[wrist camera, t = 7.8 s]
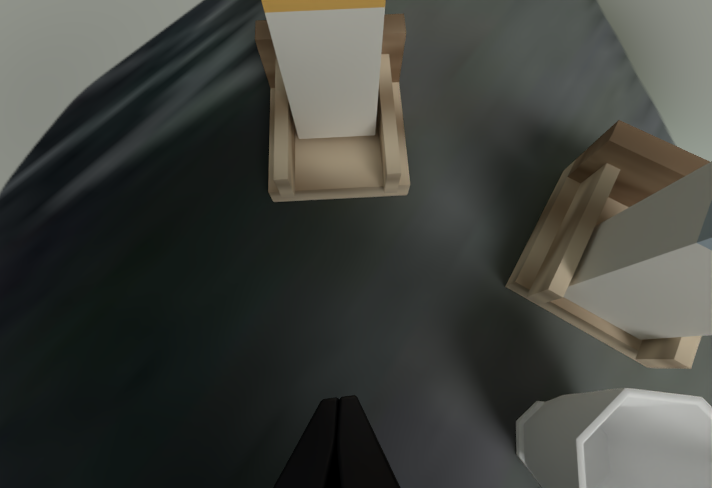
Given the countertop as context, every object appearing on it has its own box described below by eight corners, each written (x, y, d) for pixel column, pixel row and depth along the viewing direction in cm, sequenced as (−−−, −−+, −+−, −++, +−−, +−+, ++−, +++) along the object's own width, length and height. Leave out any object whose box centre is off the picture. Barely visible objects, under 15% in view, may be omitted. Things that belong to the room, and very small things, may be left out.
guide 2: (645, 375, 21) (743, 381, 15) (501, 293, 22) (546, 273, 17) (695, 235, 23) (793, 200, 18) (563, 170, 25) (618, 119, 19)
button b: (640, 339, 19) (920, 320, 10) (553, 291, 20) (732, 230, 11) (662, 278, 21) (937, 206, 11) (579, 234, 21) (764, 131, 12)
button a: (375, 135, 24) (387, -22, 14) (298, 139, 23) (257, -16, 14) (371, 85, 25) (379, -91, 15) (298, 89, 25) (259, -86, 15)
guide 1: (407, 201, 24) (421, 158, 19) (273, 208, 24) (249, 166, 19) (394, 80, 27) (403, 13, 22) (275, 86, 27) (255, 20, 22)
